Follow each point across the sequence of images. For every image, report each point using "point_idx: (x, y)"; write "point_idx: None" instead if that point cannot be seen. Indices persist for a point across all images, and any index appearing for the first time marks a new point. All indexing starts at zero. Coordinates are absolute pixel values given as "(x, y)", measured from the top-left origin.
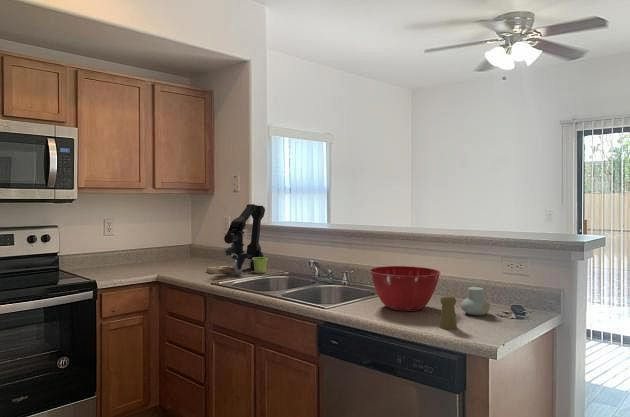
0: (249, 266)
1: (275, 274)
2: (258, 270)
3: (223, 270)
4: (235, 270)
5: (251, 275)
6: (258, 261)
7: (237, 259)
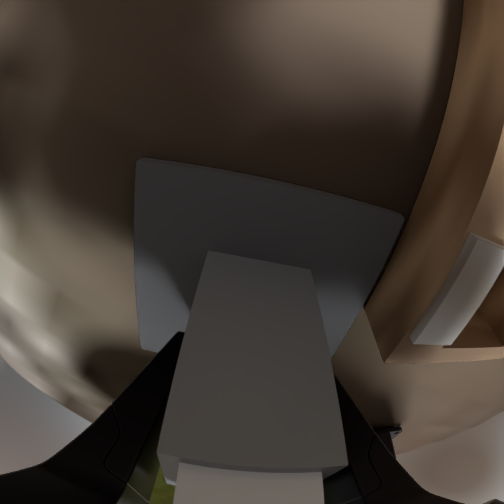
0: (385, 443)
1: (95, 417)
2: None
3: (467, 169)
4: (234, 292)
5: (96, 337)
6: None
7: (21, 490)
